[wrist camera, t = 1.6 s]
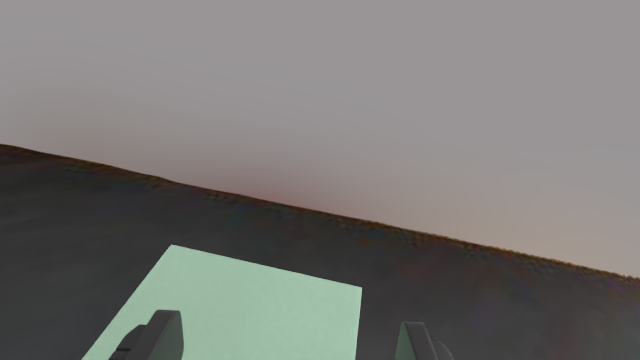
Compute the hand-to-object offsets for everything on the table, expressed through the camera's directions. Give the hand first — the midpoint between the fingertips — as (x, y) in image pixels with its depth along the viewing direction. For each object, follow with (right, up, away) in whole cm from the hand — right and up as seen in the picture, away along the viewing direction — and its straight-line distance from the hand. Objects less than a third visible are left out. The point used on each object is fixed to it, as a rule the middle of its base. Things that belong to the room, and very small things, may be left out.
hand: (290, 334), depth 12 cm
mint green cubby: (-6, -17, +20) cm, 26 cm away
